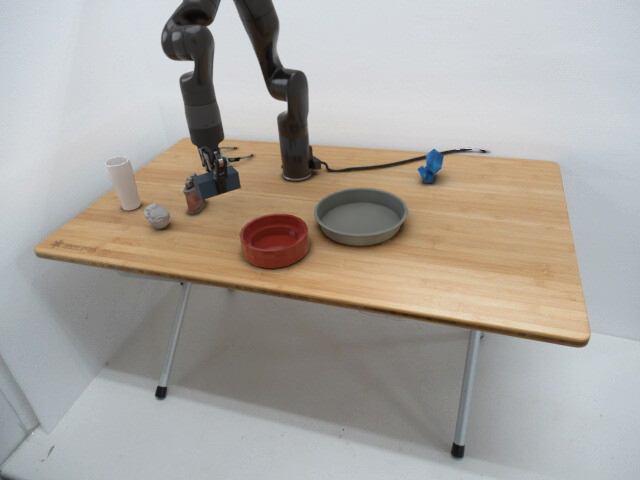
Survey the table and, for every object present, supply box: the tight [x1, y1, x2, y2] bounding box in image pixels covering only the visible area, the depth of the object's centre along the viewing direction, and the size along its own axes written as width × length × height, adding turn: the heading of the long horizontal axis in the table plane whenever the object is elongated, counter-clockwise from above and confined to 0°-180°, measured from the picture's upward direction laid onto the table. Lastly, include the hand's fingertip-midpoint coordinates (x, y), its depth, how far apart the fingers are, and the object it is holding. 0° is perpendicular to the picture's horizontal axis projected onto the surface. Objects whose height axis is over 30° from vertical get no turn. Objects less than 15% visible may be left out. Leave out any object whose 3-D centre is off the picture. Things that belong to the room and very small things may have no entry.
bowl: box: [239, 213, 310, 269], centre depth 115 cm, size 17×17×6 cm
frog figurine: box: [143, 202, 171, 230], centre depth 127 cm, size 6×7×7 cm
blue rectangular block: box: [192, 165, 242, 201], centre depth 112 cm, size 10×4×4 cm, turn 121°
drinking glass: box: [104, 155, 142, 212], centre depth 136 cm, size 7×7×15 cm
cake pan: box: [313, 187, 409, 247], centre depth 123 cm, size 25×25×4 cm
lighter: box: [182, 172, 206, 216], centre depth 134 cm, size 8×3×10 cm, turn 168°
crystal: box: [417, 148, 445, 184], centre depth 141 cm, size 7×9×12 cm
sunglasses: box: [218, 146, 254, 167], centre depth 164 cm, size 14×15×5 cm
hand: (218, 188), depth 113 cm, fingers closed on blue rectangular block, 4 cm apart
